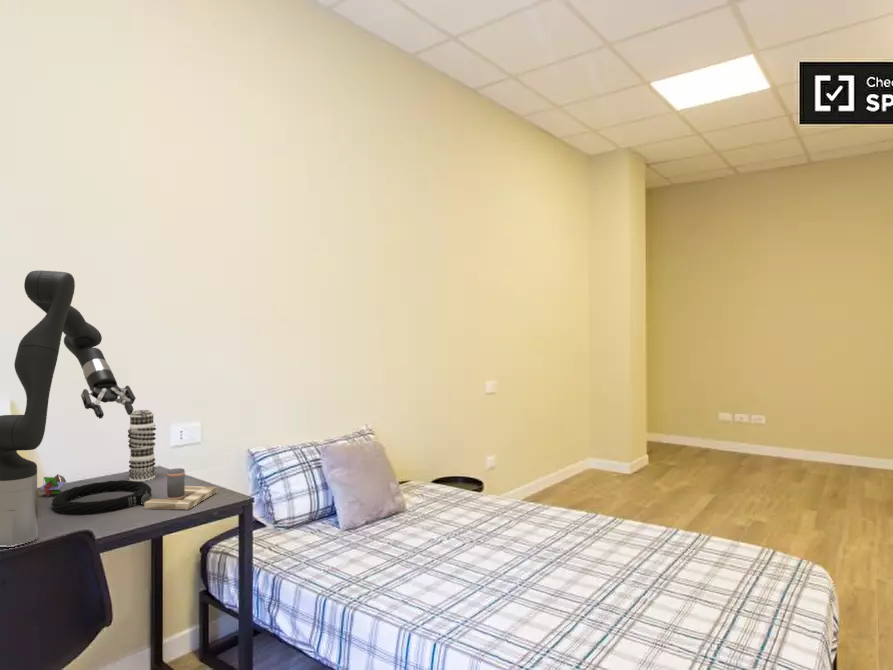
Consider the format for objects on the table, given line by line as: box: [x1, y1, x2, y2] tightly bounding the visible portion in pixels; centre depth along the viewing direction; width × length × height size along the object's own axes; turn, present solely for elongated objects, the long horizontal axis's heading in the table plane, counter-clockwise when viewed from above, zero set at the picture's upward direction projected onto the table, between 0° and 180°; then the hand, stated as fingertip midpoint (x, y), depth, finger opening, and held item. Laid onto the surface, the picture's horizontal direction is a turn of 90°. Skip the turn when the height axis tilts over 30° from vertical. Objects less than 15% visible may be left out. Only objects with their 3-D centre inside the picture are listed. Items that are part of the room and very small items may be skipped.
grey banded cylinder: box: [166, 467, 186, 500], centre depth 182 cm, size 5×5×10 cm
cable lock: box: [50, 479, 152, 515], centre depth 182 cm, size 28×4×30 cm
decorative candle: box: [127, 409, 157, 482], centre depth 209 cm, size 9×9×25 cm
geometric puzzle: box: [37, 473, 67, 498], centre depth 188 cm, size 7×7×8 cm
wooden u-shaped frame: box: [143, 485, 218, 511], centre depth 183 cm, size 18×14×2 cm
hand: (116, 415), depth 176 cm, fingers open, 8 cm apart
